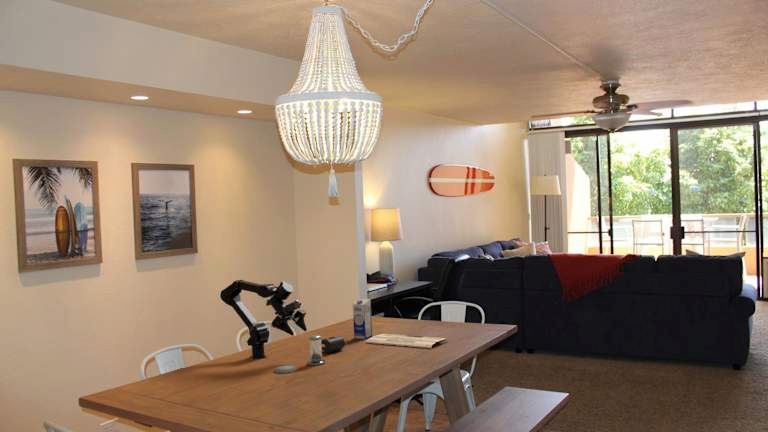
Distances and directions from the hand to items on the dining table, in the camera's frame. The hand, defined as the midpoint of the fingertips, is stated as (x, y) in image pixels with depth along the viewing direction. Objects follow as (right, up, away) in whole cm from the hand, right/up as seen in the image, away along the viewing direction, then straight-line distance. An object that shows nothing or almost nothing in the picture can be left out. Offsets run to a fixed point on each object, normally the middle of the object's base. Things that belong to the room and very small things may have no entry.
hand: (299, 332), depth 303 cm
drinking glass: (+8, -10, -4) cm, 13 cm away
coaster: (-4, -14, -15) cm, 21 cm away
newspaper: (+49, -11, +30) cm, 58 cm away
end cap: (+14, -12, +18) cm, 26 cm away
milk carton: (+27, -11, +48) cm, 56 cm away
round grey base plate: (+8, -13, -4) cm, 16 cm away
